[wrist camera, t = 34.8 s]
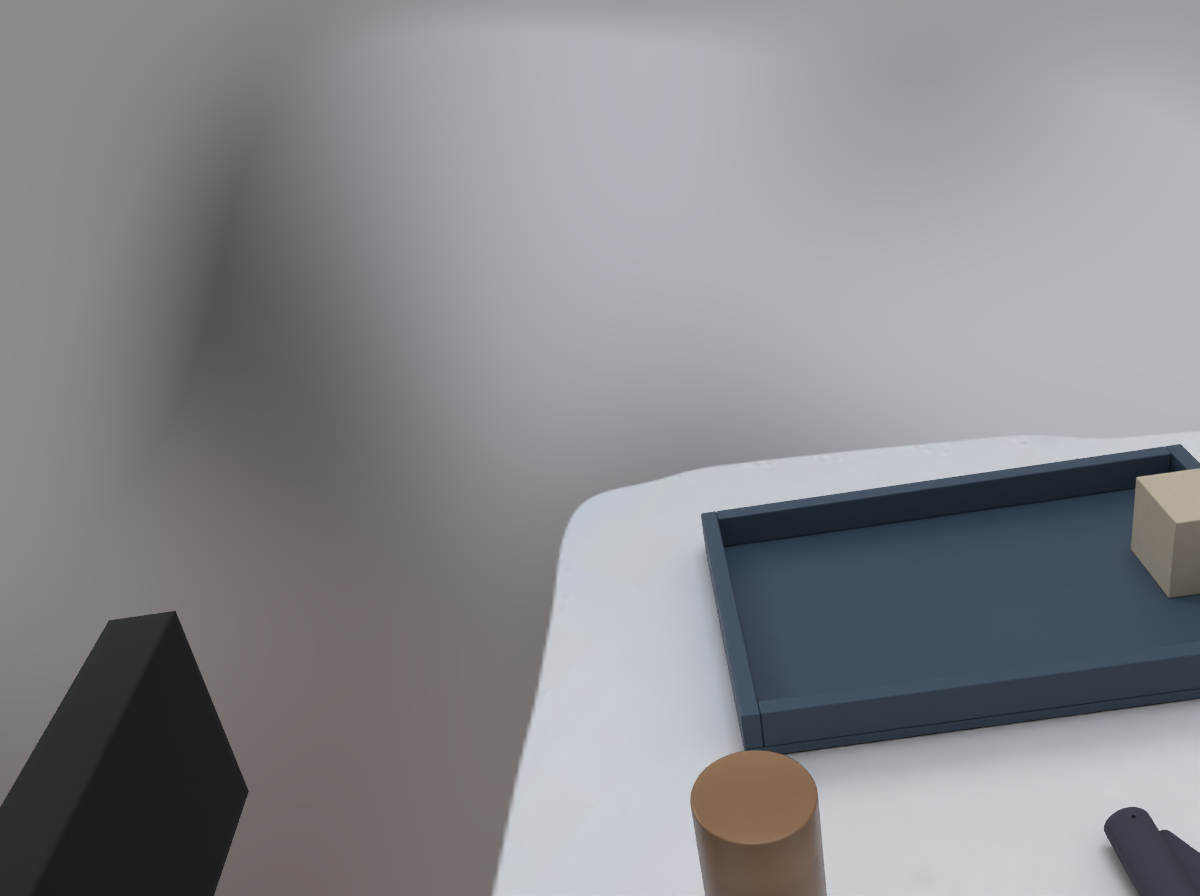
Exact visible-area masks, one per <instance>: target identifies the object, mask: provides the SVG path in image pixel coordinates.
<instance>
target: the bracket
mask: <svg viewBox="0 0 1200 896" xmlns="http://www.w3.org/2000/svg"><path fill="white" fill-rule="evenodd" d="M1104 831H1105V833H1106V835H1107V838H1108V839H1109V841H1110V843H1111V845H1112V847H1113V848H1114V850H1115V852H1116V854H1117V856H1118V857H1119V859H1120V861H1121V863H1122V865H1123V866H1124V868H1125V870H1126V872H1127V874H1128V875H1129V877H1130V879H1131V881H1132V882H1133V884H1134V886H1135V888H1136V890H1137V891H1138V893H1139V895H1140V896H1200V853H1199V852H1197V851H1196V850H1195V849H1193V848H1192V847H1190V846H1189V845H1188V844H1186V843H1185V842H1184V841H1182V840H1181V839H1180V838H1178V837H1177V836H1175V835H1174V834H1173V833H1171V832H1170V831H1168V830H1161V831H1159V830H1158V829H1157V827H1156V825H1155V824H1154V822H1153V820H1152V819H1151V817H1150V816H1149V814H1148V813H1147V812H1146V811H1145V810H1143V809H1141V808H1137V807H1128V808H1124V809H1121V810H1118V811H1117V812H1115V813H1114V814H1112V815H1111V816H1110V817H1109V818H1108V819H1107V821H1106V823H1105V825H1104Z"/></svg>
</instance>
